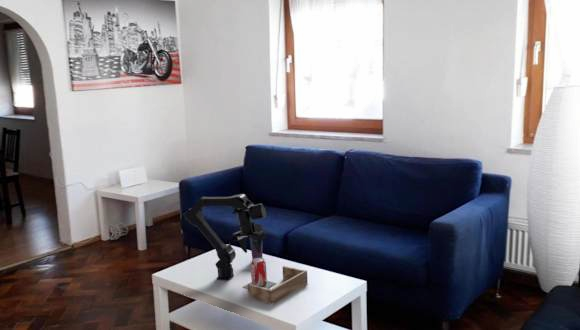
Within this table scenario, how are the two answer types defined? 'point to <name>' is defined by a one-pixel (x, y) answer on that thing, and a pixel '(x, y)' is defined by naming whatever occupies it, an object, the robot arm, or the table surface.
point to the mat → (267, 285)
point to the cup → (254, 251)
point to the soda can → (258, 272)
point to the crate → (279, 286)
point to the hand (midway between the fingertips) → (252, 252)
